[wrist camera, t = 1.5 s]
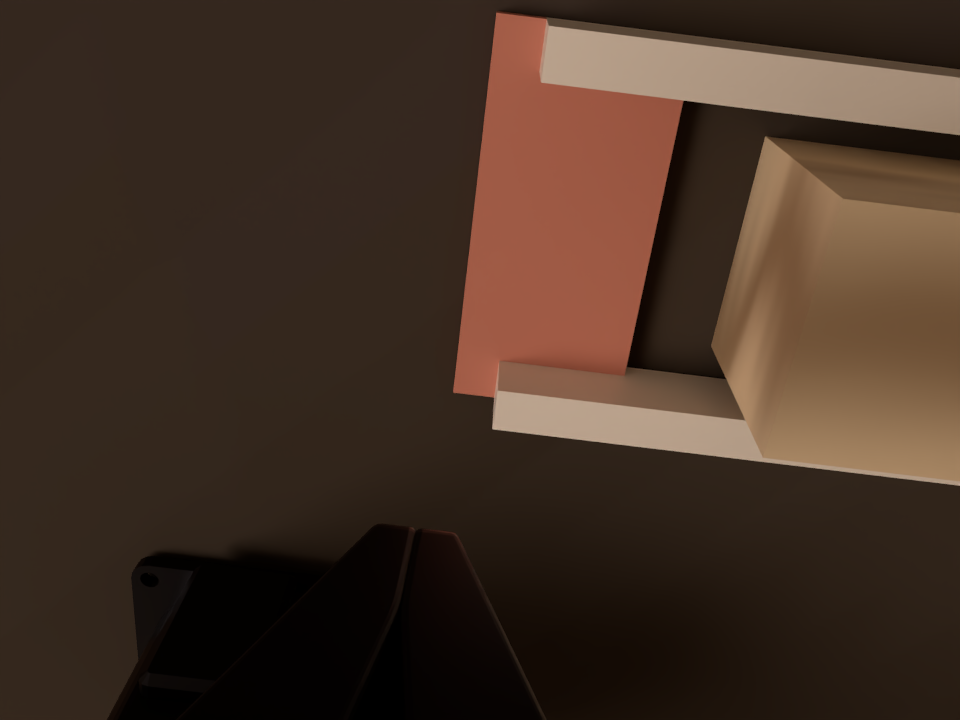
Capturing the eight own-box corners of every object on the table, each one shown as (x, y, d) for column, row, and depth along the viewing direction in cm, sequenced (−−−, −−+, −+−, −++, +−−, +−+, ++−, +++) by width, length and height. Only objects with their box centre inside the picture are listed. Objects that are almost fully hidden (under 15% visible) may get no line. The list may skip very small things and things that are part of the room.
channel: (1247, 479, 21) (1314, 528, 20) (454, 383, 21) (448, 423, 19) (1462, 132, 18) (1569, 154, 16) (497, 10, 17) (494, 18, 16)
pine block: (915, 369, 21) (1025, 489, 16) (710, 344, 20) (763, 457, 16) (994, 163, 18) (1147, 236, 14) (764, 135, 18) (842, 198, 14)
